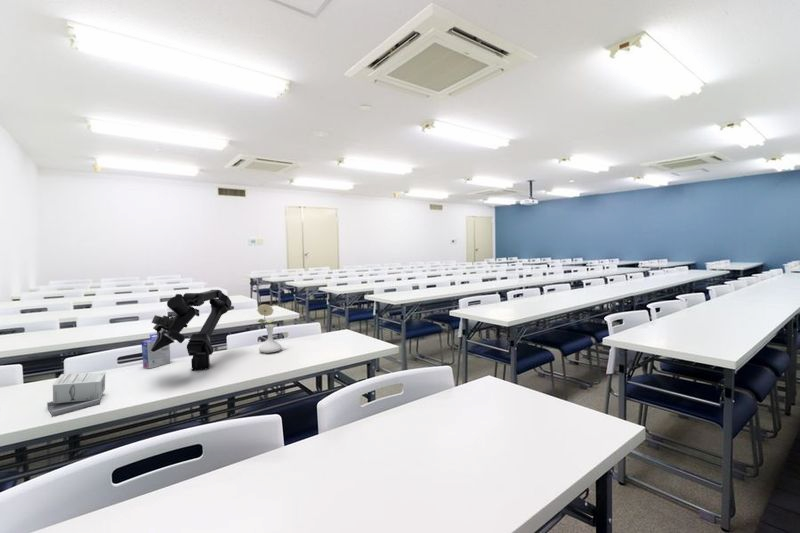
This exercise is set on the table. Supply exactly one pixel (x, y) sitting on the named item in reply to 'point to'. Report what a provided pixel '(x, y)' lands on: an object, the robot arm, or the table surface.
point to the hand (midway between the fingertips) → (152, 351)
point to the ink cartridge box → (154, 354)
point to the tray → (69, 406)
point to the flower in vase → (269, 344)
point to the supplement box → (78, 387)
